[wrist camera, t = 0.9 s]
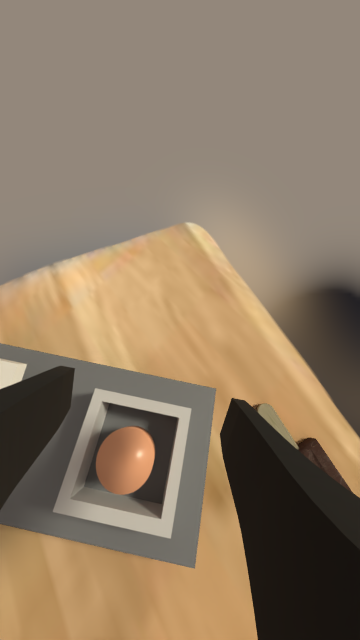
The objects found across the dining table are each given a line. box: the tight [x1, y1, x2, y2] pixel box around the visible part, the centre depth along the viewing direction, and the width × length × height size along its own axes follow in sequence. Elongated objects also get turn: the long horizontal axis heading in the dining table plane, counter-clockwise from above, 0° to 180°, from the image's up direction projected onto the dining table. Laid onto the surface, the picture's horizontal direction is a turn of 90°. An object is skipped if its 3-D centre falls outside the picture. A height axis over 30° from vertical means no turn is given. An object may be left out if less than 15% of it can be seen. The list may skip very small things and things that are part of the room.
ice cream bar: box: [257, 404, 353, 493], centre depth 19 cm, size 5×2×15 cm
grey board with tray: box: [0, 343, 216, 568], centre depth 17 cm, size 12×24×6 cm, turn 79°
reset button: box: [96, 426, 155, 495], centre depth 15 cm, size 4×4×2 cm
